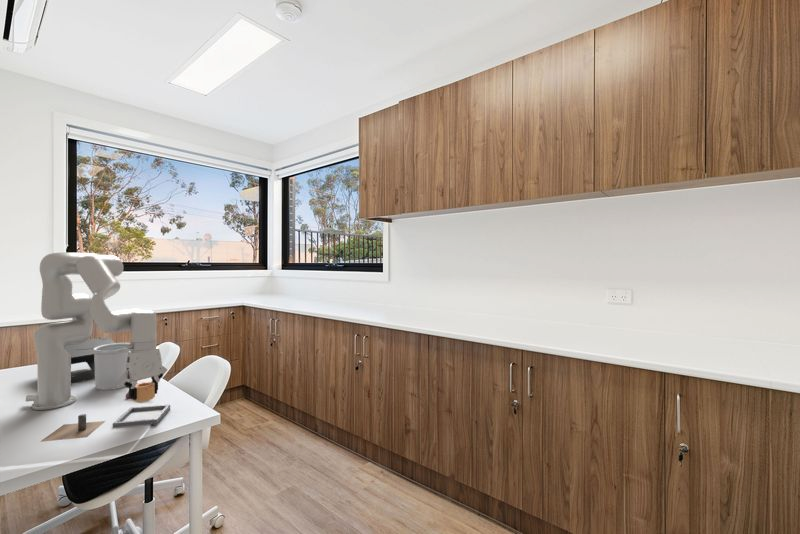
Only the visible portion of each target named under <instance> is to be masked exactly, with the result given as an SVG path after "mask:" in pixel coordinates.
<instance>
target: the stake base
mask: <svg viewBox="0 0 800 534" xmlns="http://www.w3.org/2000/svg"><path fill="white" fill-rule="evenodd" d="M77 420H78V421H77V422H78V423H67V424H66V423H65V424H63V425H61V426H59V427H58V428H57V429H55V430H54V431H53V432H52V433H49V434H48V435H47V436H45V438H43V439H41V440H40V441H39V442H49V441H59V440H72V439H80V438H83V439H84V438H88V437H89V436H90V435H91V434H92V433H94V432H95V431H96V430H97V429H98V428H100V427H101V426H102V425H103V424H104V423H105V422H106V420H101V421H88V422H87V414H86V413H82V414H79V415H78V417H77Z"/></svg>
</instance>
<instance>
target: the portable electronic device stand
mask: <svg viewBox="0 0 800 534" xmlns="http://www.w3.org/2000/svg"><path fill="white" fill-rule="evenodd" d="M113 343H116V342H115V341H114V340H113V339H112V338H110V337H109V336H105V337H99V338H98V337H97V338H89V339H88V340H87V341H85V342H81V343H76V344H71V345H67V346H64V349H65V350H66V351H67V352H68V353H69V354H70V357H71V365H75V364H80V363H86V364H87V365H88V367H89V369H88V368H83V369H77V370H71V384H75V383H81V382H86V381H90V380H95V362H94V351H93V349H94V348H95V347H98V346H101V345H106V344H113Z"/></svg>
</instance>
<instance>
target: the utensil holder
mask: <svg viewBox="0 0 800 534" xmlns="http://www.w3.org/2000/svg"><path fill="white" fill-rule="evenodd" d="M127 345H130V342H115V343H113V344H106V345H101V346H98V347H95V348H94V349H93V351H94V362H95V379H94V384H95V389H97V390H99V389H100V391H109V390H110V389H111V390H116V389H117V388H118V389H121V387H122V388H125V385H123V384H122V383H120V382H119V381H118V380H119V378H120V377H121V376H122V375H123V374H124V373H125V372H126V362H127V357H128V353H129V351H131V350H130V349H127V348H126V346H127ZM129 380H130V379H127V378H126V381H127V382H129Z"/></svg>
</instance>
